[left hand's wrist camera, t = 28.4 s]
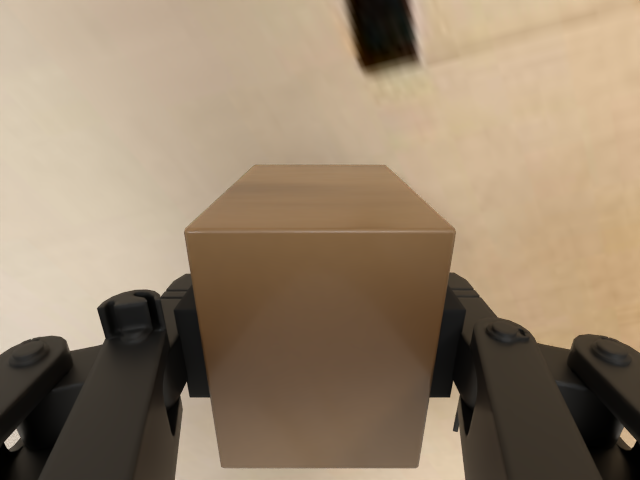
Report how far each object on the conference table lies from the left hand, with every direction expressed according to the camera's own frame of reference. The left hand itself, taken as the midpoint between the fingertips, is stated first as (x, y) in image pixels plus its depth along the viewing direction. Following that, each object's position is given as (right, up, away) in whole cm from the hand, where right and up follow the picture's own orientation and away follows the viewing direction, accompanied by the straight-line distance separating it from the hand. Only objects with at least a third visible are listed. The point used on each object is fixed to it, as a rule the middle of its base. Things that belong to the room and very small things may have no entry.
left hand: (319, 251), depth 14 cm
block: (0, 0, +1) cm, 1 cm away
